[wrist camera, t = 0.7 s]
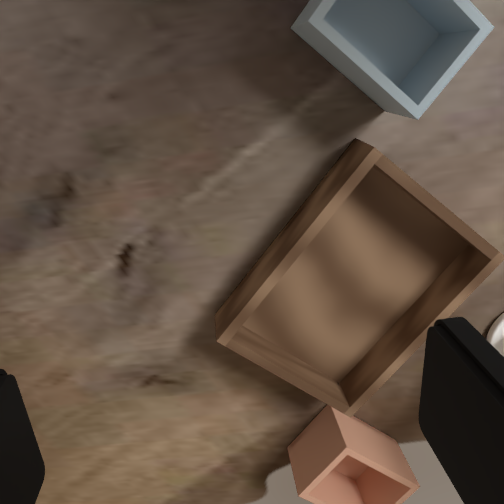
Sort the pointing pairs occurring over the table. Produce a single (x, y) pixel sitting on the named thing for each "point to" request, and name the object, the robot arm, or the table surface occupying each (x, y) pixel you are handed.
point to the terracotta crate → (349, 463)
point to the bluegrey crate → (395, 45)
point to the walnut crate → (354, 282)
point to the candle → (497, 334)
